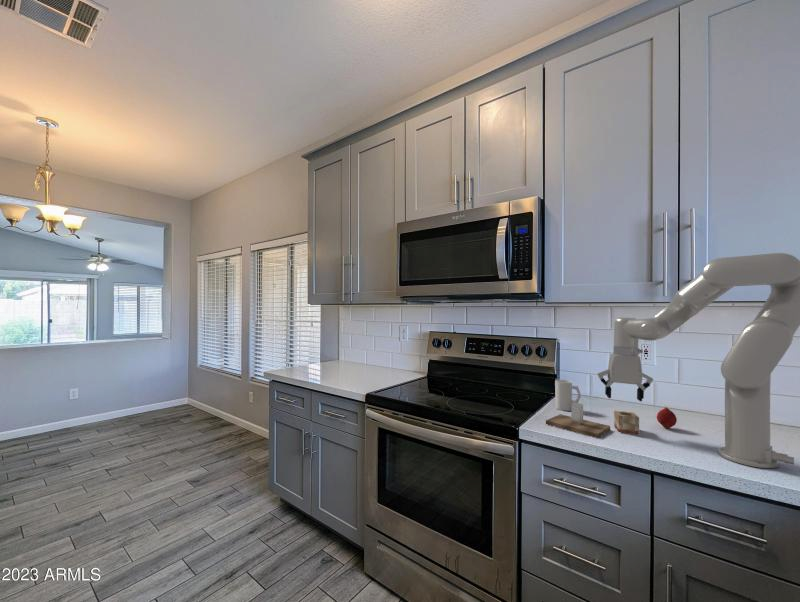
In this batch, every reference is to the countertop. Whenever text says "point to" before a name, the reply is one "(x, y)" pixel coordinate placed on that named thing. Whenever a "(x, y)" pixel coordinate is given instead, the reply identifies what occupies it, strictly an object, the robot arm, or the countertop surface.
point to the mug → (565, 394)
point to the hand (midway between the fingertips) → (623, 398)
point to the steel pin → (577, 413)
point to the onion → (666, 418)
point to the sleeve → (626, 422)
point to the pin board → (578, 426)
